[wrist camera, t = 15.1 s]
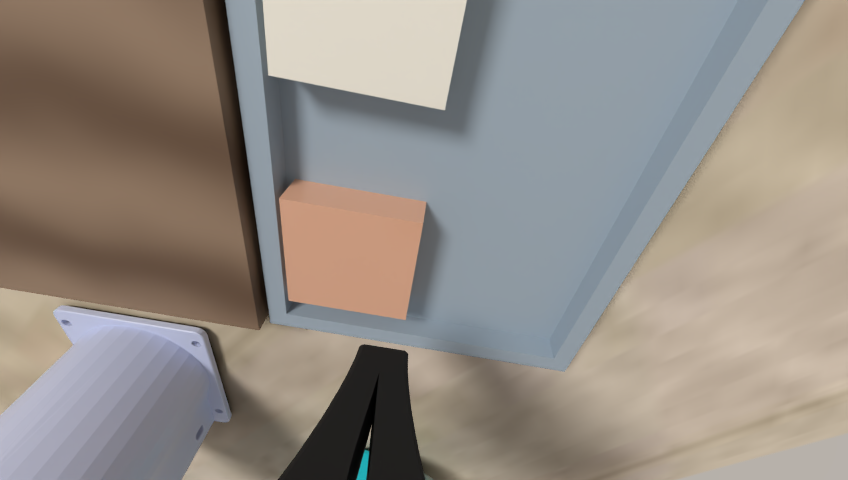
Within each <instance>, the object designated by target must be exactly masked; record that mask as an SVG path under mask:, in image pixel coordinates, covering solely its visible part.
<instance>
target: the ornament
mask: <svg viewBox="0 0 848 480" xmlns="http://www.w3.org/2000/svg"><path fill="white" fill-rule="evenodd" d="M368 458H369V451H368V450H365V451H364V454H363V458H362V462H361V465H360V469H359V473H358V476H357V480H366V477H367V468H368ZM424 476H425V480H433V479H432V478H431V477H429V476H428V475H427V474H425V473H424Z"/></svg>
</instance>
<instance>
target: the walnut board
mask: <svg viewBox="0 0 848 480" xmlns="http://www.w3.org/2000/svg"><path fill="white" fill-rule="evenodd" d="M0 288H6V289H12V290H18V291H25V292H31V293H37V294H43V295H49V296H55V297H61V298H67V299H73V300H79V301H85V302H91V303H97V304H103V305H109V306H115V307H121V308H128V309H134V310H140V311H146V312H152V313H158V314H164V315H170V316H176V317H182V318H188V319H194V320H200V321H206V322H212V323H218V324H224V325H230V326H237V327H243V328H249V329H255V330H260V328H261V326H262V324H263V323H264V321H265V319H266V317H267V316H268V314H269V309H268V302H267V295H266V288H265V281H264V274H263V267H262V259H261V252H260V245H259V238H258V231H257V224H256V217H255V210H254V203H253V195H252V188H251V181H250V174H249V167H248V160H247V153H246V146H245V138H244V131H243V124H242V117H241V110H240V103H239V96H238V89H237V82H236V74H235V67H234V60H233V53H232V46H231V39H230V32H229V25H228V18H227V10H226V3H225V0H0Z"/></svg>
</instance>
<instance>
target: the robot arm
mask: <svg viewBox="0 0 848 480" xmlns="http://www.w3.org/2000/svg"><path fill="white" fill-rule="evenodd" d="M53 314H54V316H55V318H56V319H57V321H58V322H59V324H60V325H61V327H62V328H63V330H64V331H65V333H66V334H67V336H68V337H69V339H70V341H71V342H72V344H73V346H72V347H71V348H70V349H69V350H68V351H67V352H66V353H65V354H64V355H63V356H62V357H61V358H60V359H58V360H57V361H56V362H55V363H54V364H53V365H52V366H51V367H50V368H49V369H48V370H47V371H46V372H45V373H44V374H43V375H42V376H41V377H40V378H39V379H38V380H37V381H35V382H34V383H33V384H32V385H31V386H30V387H29V388H28V389H27V390H26V391H25V392H24V393H23V394H22V395H21V396H20V397H19V398H18V399H17V400H16V401H15V402H14V403H12V404H11V405H10V406H9V407H8V408H7V409H6V410H5V411H4V412H3V413H2V414H1V415H0V480H182V478H183V476H184V475H185V473H186V471H187V469H188V467H189V465H190V464H191V462H192V460H193V458H194V456H195V455H196V453H197V451H198V449H199V447H200V446H201V444H202V442H203V440H204V438H205V436H206V435H207V433H208V431H209V429H210V427H211V426H212V424H213V422H214V421H218V422H228V421H229V420H230V418H231V416H232V415H231V412H230V408H229V405H228V402H227V398H226V395H225V392H224V388H223V385H222V382H221V378H220V375H219V372H218V368H217V365H216V362H215V358H214V355H213V352H212V348H211V345H210V342H209V339H208V335H207V333H206V332H205V331H204V330H203V329H201V328H198V327H193V326H187V325H181V324H175V323H169V322H162V321H156V320H150V319H144V318H138V317H132V316H126V315H120V314H114V313H108V312H102V311H96V310H90V309H84V308H77V307H71V306H64V305H61V306H59V307H58V308H56V309H55V310H54V312H53ZM371 425H372V429H371ZM370 429H371V438H370V448H369V458H368V468H367V477H366V480H425V476H424V472H423V468H422V463H421V459H420V454H419V450H418V445H417V440H416V435H415V429H414V423H413V417H412V411H411V403H410V395H409V385H408V353H407V352H406V351H402V350H396V349H390V348H384V347H377V346H371V345H365V344H364V345H361V346H360V347H359V350H358V352H357V355H356V357H355V359H354V361H353V364H352V366H351V368H350V370H349V372H348V374H347V376H346V378H345V379H344V381H343V383H342V385H341V387H340V389H339V390H338V392H337V394H336V395H335V397H334V399H333V400H332V402H331V404H330V405H329V407H328V409H327V410H326V412H325V413H324V415H323V417H322V418H321V420H320V421H319V423H318V424H317V426H316V427H315V429H314V430H313V432H312V433H311V435H310V436H309V438H308V439H307V440H306V442H305V443H304V445H303V446H302V448H301V449H300V451H299V452H298V453H297V455H296V456H295V458H294V459H293V460H292V462H291V463H290V464H289V466H288V467H287V468H286V470H285V471H284V472H283V474H282V475H281V476H280V478H279V479H278V480H357V476H358V473H359V469H360V465H361V462H362V458H363V454H364V451H365V447H366V443H367V440H368V436H369V432H370Z"/></svg>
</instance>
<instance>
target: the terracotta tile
mask: <svg viewBox="0 0 848 480" xmlns="http://www.w3.org/2000/svg"><path fill="white" fill-rule="evenodd" d="M279 204H280V215H281V225H282V236H283V246H284V257H285V268H286V278H287V289H288V299H289V301H294V302H300V303H306V304H312V305H318V306H324V307H330V308H336V309H342V310H348V311H354V312H360V313H366V314H372V315H378V316H384V317H390V318H396V319H402V320H406V315H407V310H408V304H409V299H410V293H411V288H412V282H413V277H414V271H415V266H416V260H417V255H418V249H419V244H420V238H421V233H422V227H423V222H424V215H425V208H426V202H425V201H419V200H414V199H408V198H402V197H396V196H391V195H385V194H379V193H373V192H368V191H362V190H356V189H350V188H345V187H339V186H333V185H327V184H322V183H316V182H310V181H304V180H299V179H294V181H293V182H292V183H291V184H290V186H289V187H288V188H287V189H286V191H285V192H284V193H283V194H282V195H281V197H280V198H279Z"/></svg>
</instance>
